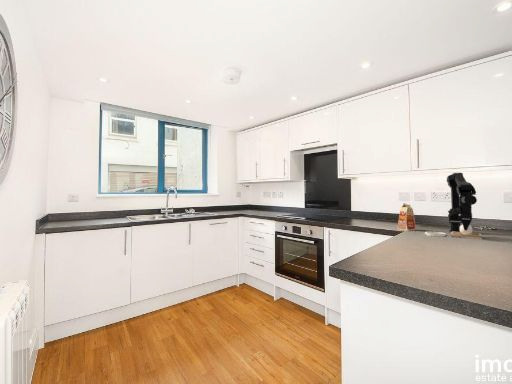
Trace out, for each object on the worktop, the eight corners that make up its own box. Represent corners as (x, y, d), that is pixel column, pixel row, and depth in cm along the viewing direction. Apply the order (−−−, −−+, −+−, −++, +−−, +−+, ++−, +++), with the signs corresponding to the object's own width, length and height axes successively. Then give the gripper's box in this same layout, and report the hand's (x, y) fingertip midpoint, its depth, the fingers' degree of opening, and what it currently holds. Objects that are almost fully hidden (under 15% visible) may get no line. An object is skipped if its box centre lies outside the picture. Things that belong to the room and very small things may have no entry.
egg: (462, 234, 154) (462, 222, 154) (474, 235, 149) (474, 223, 149) (457, 234, 151) (457, 222, 151) (469, 236, 146) (469, 223, 146)
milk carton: (407, 230, 177) (406, 203, 177) (396, 229, 186) (396, 202, 186) (416, 230, 179) (416, 203, 180) (406, 228, 188) (405, 202, 188)
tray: (452, 234, 159) (451, 231, 159) (481, 236, 150) (481, 233, 150) (450, 236, 150) (450, 233, 150) (481, 239, 141) (481, 235, 141)
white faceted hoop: (426, 233, 164) (426, 231, 165) (446, 234, 157) (446, 232, 157) (424, 235, 157) (424, 232, 157) (444, 236, 150) (444, 234, 150)
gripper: (449, 203, 163) (450, 226, 162) (447, 204, 149) (448, 229, 148) (472, 203, 155) (472, 228, 155) (471, 204, 141) (472, 231, 141)
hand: (465, 229), depth 150 cm, fingers open, 9 cm apart
